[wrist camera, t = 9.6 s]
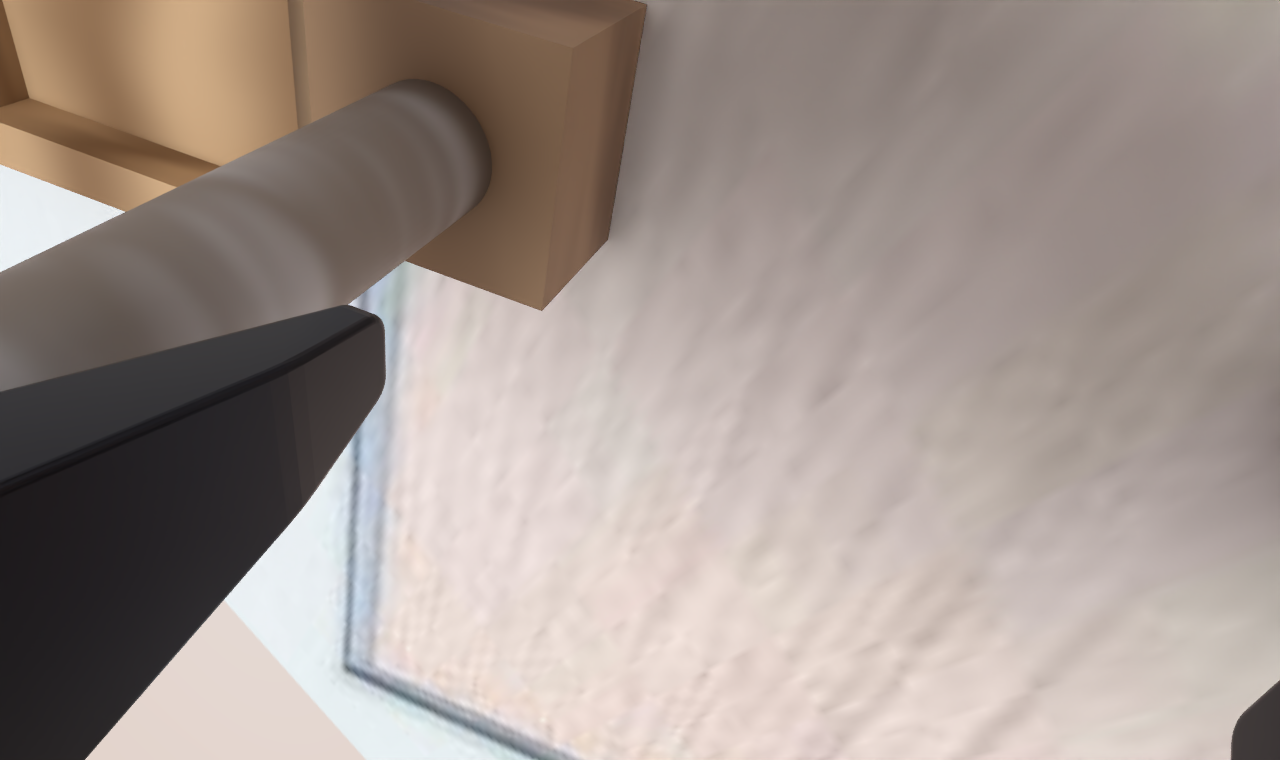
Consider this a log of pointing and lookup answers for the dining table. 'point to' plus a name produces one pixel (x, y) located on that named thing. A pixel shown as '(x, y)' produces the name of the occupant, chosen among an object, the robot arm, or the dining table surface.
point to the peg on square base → (361, 185)
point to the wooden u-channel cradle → (146, 89)
